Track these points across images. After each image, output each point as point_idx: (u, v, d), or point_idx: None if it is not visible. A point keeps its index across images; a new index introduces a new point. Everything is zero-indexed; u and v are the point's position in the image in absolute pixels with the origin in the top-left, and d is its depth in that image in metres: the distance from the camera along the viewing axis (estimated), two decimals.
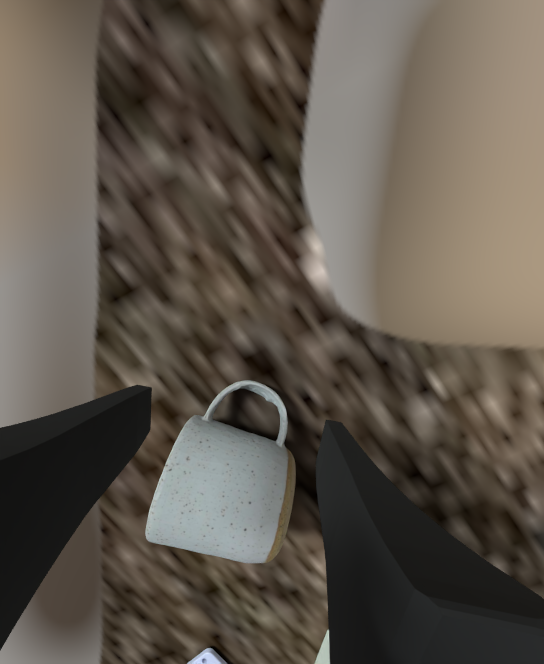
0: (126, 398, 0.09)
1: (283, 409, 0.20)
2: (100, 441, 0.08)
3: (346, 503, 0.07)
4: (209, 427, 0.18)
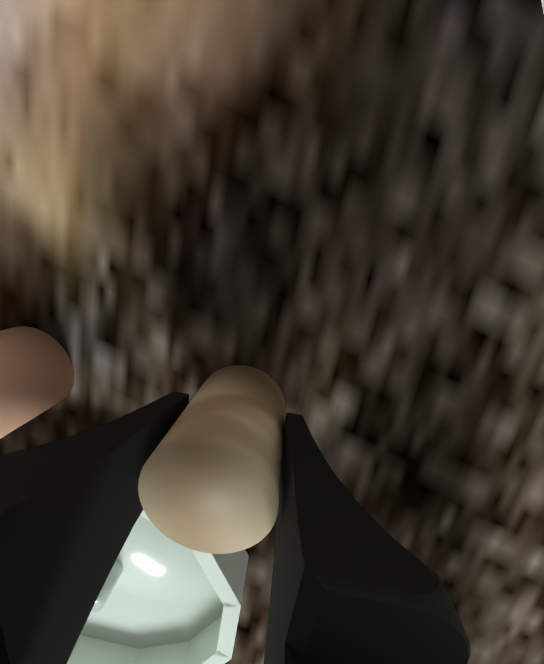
0: (170, 406, 0.09)
1: None
2: (148, 450, 0.08)
3: (288, 492, 0.07)
4: None
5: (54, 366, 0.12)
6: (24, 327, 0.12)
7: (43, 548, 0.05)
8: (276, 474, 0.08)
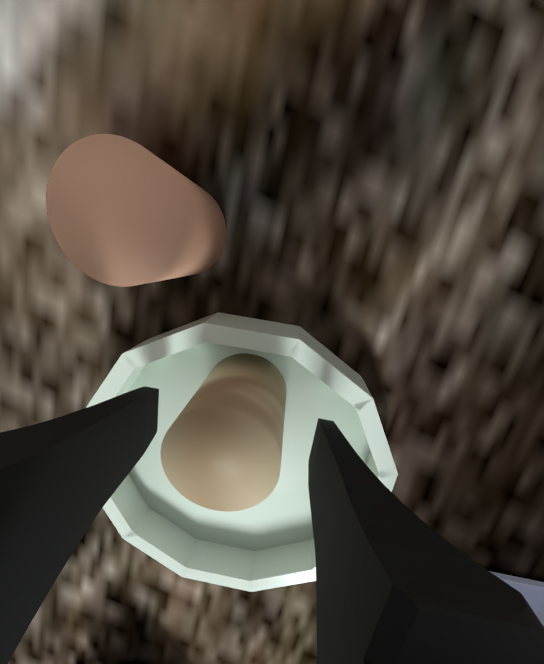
0: (135, 400, 0.09)
1: None
2: (109, 443, 0.08)
3: (334, 501, 0.07)
4: None
5: (219, 216, 0.11)
6: None
7: None
8: (278, 441, 0.09)
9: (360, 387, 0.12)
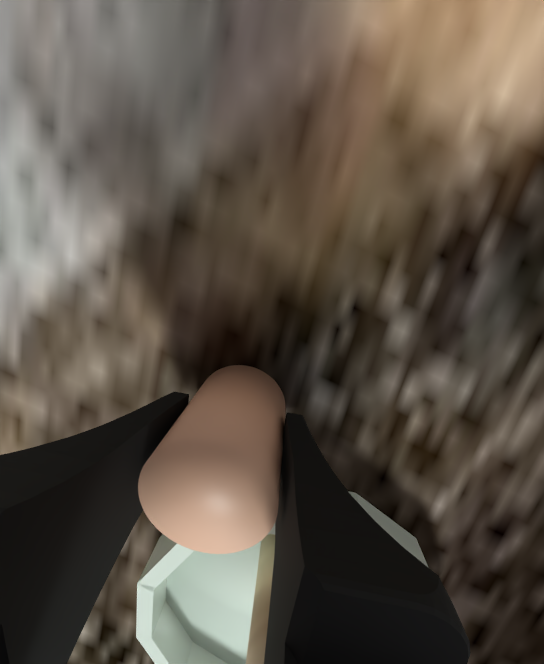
0: (169, 406, 0.09)
1: None
2: (148, 450, 0.08)
3: (288, 492, 0.07)
4: None
5: (283, 408, 0.11)
6: (244, 366, 0.12)
7: (43, 548, 0.05)
8: None
9: None
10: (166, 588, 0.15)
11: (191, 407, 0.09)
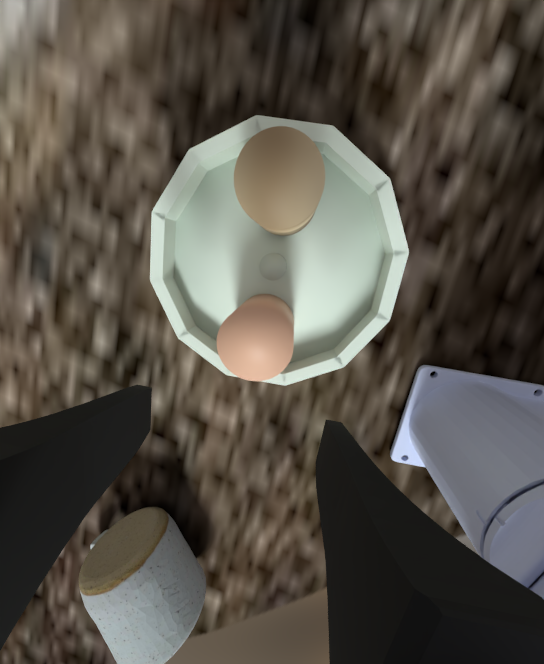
0: (126, 398, 0.09)
1: (91, 546, 0.25)
2: (100, 441, 0.08)
3: (346, 503, 0.07)
4: None
5: (293, 319, 0.18)
6: (267, 294, 0.18)
7: None
8: None
9: (380, 170, 0.15)
10: (174, 261, 0.18)
11: (241, 305, 0.16)
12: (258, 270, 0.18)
